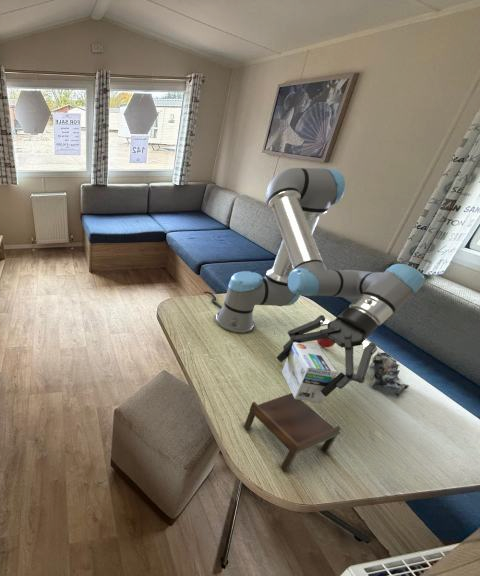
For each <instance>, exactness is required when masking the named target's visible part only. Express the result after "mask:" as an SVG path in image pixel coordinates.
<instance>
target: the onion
mask: <svg viewBox="0 0 480 576" xmlns="http://www.w3.org/2000/svg"><path fill="white" fill-rule="evenodd" d="M316 342H317V344H318V346H320V348H330V347H331V348H332V347H333V346H334V345H335V343H334V342H332V341H330V339H319V340H316Z"/></svg>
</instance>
